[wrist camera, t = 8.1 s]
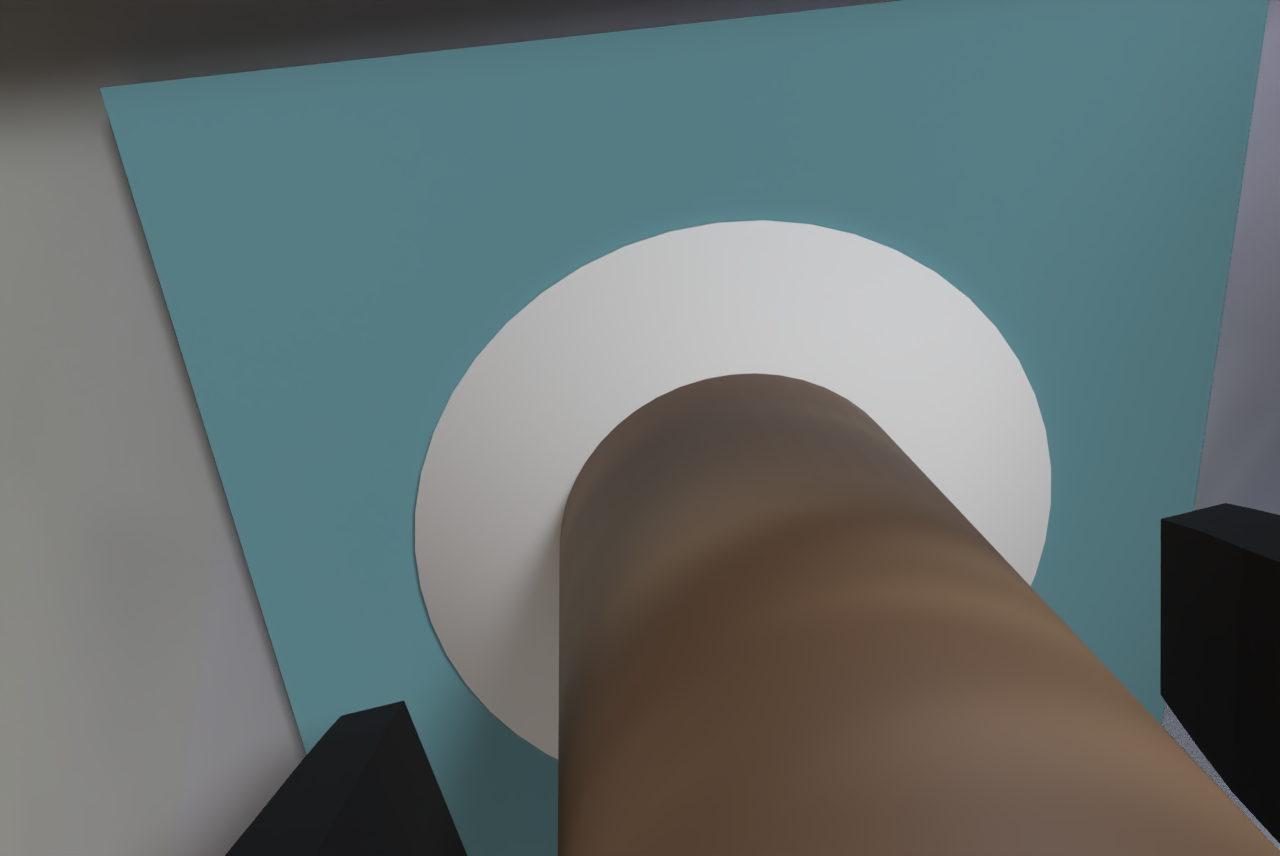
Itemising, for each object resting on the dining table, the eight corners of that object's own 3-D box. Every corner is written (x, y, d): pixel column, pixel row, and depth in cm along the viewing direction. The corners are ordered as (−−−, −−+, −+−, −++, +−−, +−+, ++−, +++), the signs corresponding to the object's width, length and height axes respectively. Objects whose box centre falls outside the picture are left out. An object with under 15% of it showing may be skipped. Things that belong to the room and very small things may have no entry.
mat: (1247, -36, 9) (1281, -43, 9) (1130, 811, 14) (1149, 836, 13) (118, 88, 9) (94, 87, 9) (371, 922, 13) (364, 952, 13)
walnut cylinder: (894, 332, 10) (1495, 775, 4) (932, 647, 12) (1390, 1339, 5) (516, 425, 10) (432, 1028, 4) (607, 726, 12) (663, 1509, 5)
